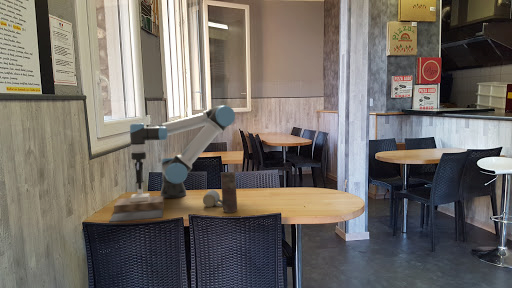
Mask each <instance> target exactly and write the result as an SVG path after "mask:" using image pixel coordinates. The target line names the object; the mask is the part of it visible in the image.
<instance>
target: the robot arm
mask: <svg viewBox="0 0 512 288" xmlns="http://www.w3.org/2000/svg"><path fill="white" fill-rule="evenodd" d="M235 119H236V113H235V111H234V109H233V108H232V107H230V106H229V105H223V104H221V105H217V106H214V107H212V108H209V109H207V110H203V111H202V112H201V113H197V114H194V115H189V116H187V117H181V118H179V119H175V120H174V119H173V120H172V121H171V120H170V121H167V122H163V123H159V124H156V125H151V126H145V124H144V123H131V124H130V125H129V134H130V135H129V136H130V145H129V148H130V150H131V153H130V155H131V156H130V157H131V160H133V161H134V160H135V163H134V169H135V177H136V179H135V180H136V182H135V184H136V185H137V186H136V189H137V194H144V183H145V181H144V176H143V170H144V167H143V166H144V162H143V161H142V160H145V159H146V158H147V153H146V151H147V150H146V147H147V146H146V142H149V141H166V140H167V139H168V136H170V135H174V134H178V133H181V132H185V131H188V130H193V129H197V128H200V127H202V129H201V130H200V131H199V132H198V134H196V136H195V137H194V138H193V139H192V140H191V142H189V144H188V145H187V146H186V147H185V148H184V149H183V150H182V152H181V153H180V154H176V155H175V156H174V157H167V158H166V157H164V158H162V160H161V171H162V185H161V186H162V187H161V190H160V195H159V196H164V199H176V198H178V199H179V198H182V197H185V196H186V195H187V190H186V187H185V184H184V181H185V180H186V179H187V177H188V173H190V172H191V171H192V169H193V163H195V162H196V160H197V159H198V158H199V156H200V155H201V154H202V153H203V152H204V151H205V149H206V148H207V147H208V146H209V145H210V144H211V143H212V141H213V140H214V139H215V138H216V136H218V134H219V133H223V132H224V131H225V130H226V129H227V128H228V127H229V126H231V125H232V124H233V123H234V122H235ZM203 126H204V127H203Z"/></svg>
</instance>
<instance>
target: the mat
mask: <svg viewBox="0 0 512 288" xmlns="http://www.w3.org/2000/svg"><path fill="white" fill-rule="evenodd" d="M163 213H164V208H163V209H156V210H144V211H132V212H120V213H113V214H112V215H111V217H110V219H108V220H109V221H108V223H117V222H127V221H128V222H129V221H137V220H139V221H140V220H150V219H151V220H152V219H163Z"/></svg>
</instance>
